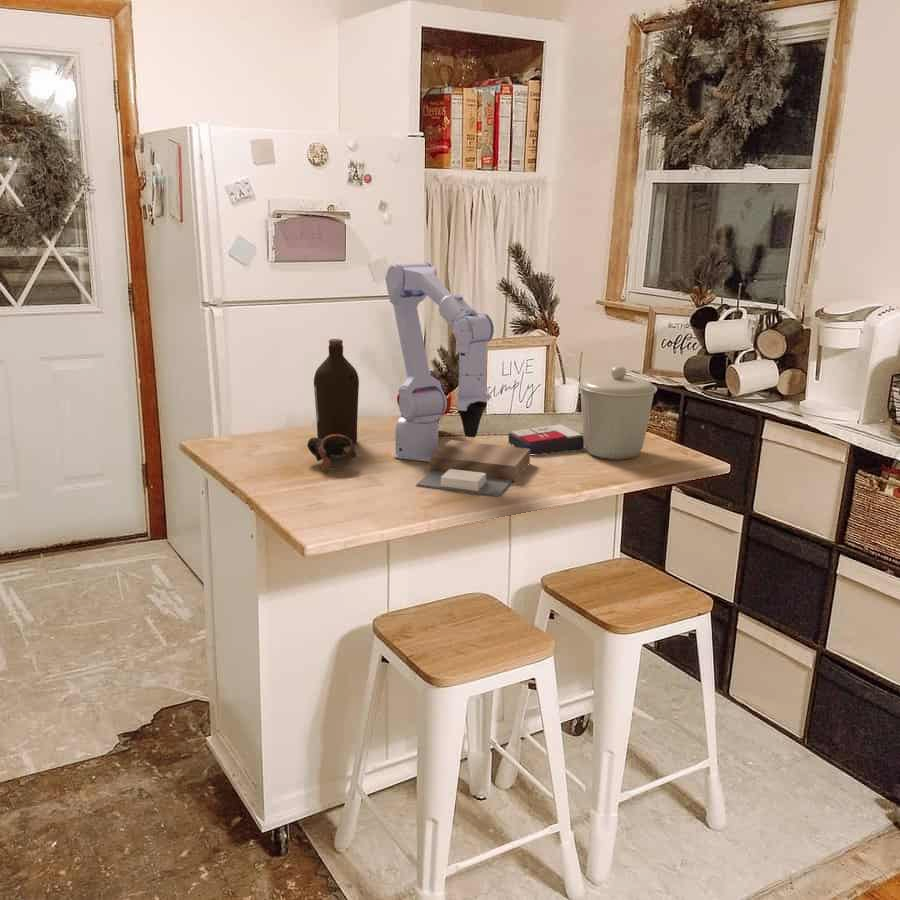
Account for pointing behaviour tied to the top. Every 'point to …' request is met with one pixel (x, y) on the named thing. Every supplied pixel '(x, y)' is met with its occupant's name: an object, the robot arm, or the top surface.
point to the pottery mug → (332, 451)
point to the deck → (481, 459)
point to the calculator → (547, 439)
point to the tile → (463, 479)
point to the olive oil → (336, 395)
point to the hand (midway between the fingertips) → (470, 436)
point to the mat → (489, 487)
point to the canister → (615, 413)
